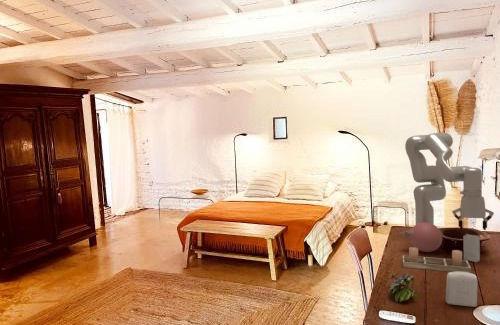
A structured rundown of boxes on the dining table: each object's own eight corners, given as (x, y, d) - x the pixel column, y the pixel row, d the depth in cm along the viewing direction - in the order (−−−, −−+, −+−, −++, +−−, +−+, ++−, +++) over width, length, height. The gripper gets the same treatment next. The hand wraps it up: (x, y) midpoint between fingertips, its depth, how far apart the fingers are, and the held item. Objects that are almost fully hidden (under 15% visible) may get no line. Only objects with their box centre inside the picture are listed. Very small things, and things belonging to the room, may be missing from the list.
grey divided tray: (402, 260, 187) (402, 244, 186) (467, 265, 177) (467, 248, 176) (402, 267, 178) (402, 250, 178) (470, 273, 168) (470, 255, 167)
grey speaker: (475, 302, 142) (475, 270, 141) (478, 308, 138) (479, 275, 136) (445, 299, 145) (445, 268, 144) (447, 305, 141) (447, 273, 140)
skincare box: (480, 260, 182) (480, 236, 181) (476, 262, 180) (476, 238, 178) (466, 257, 187) (466, 233, 186) (462, 259, 184) (463, 235, 183)
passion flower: (394, 306, 152) (395, 276, 158) (423, 308, 146) (422, 277, 151) (384, 300, 145) (384, 269, 151) (413, 302, 138) (413, 269, 144)
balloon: (400, 245, 210) (400, 217, 208) (440, 247, 202) (440, 219, 201) (400, 254, 195) (400, 225, 194) (443, 257, 188) (443, 227, 187)
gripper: (453, 194, 180) (453, 230, 181) (495, 195, 173) (495, 231, 175) (451, 192, 187) (451, 226, 188) (491, 192, 180) (491, 227, 182)
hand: (472, 228), depth 181 cm, fingers open, 9 cm apart
